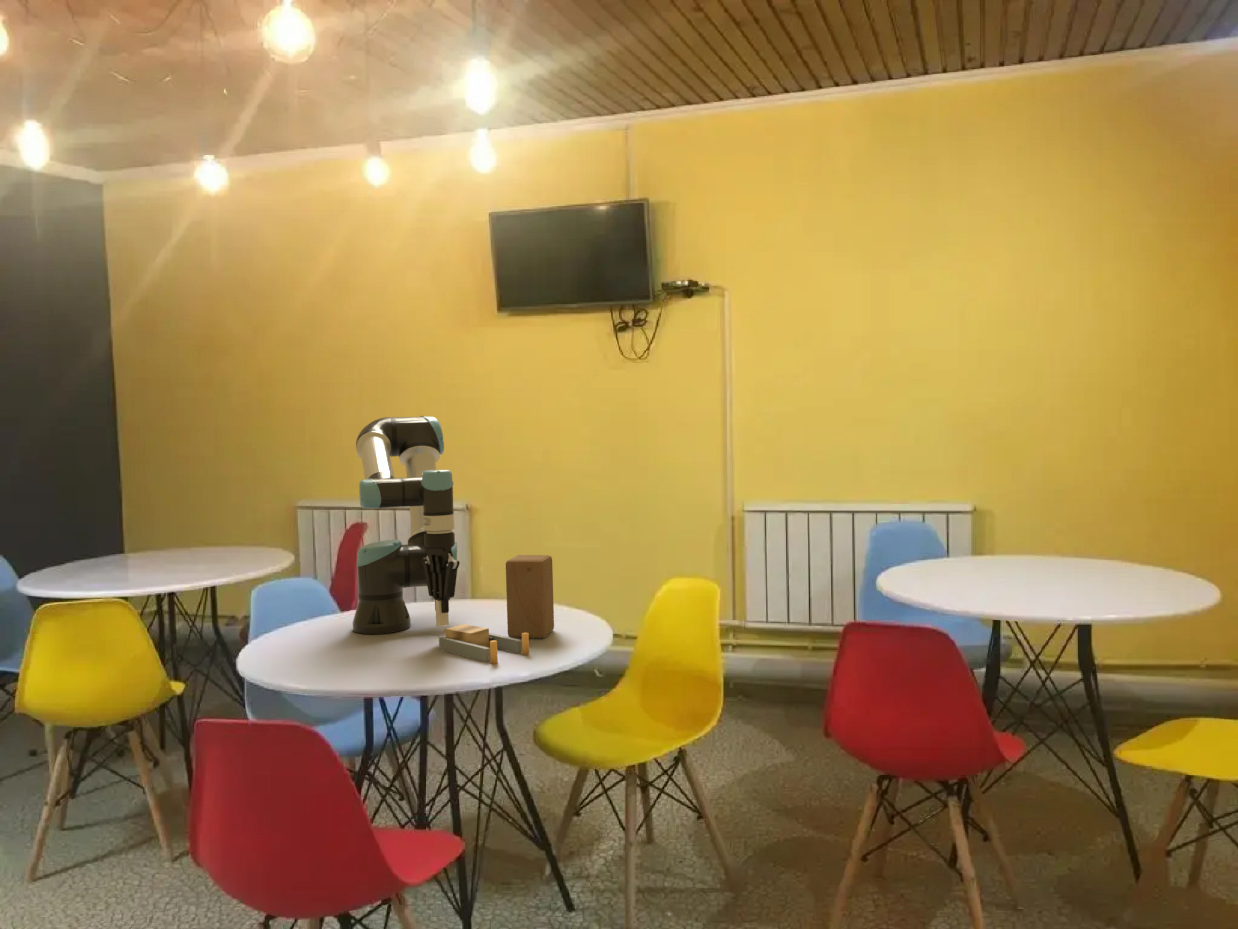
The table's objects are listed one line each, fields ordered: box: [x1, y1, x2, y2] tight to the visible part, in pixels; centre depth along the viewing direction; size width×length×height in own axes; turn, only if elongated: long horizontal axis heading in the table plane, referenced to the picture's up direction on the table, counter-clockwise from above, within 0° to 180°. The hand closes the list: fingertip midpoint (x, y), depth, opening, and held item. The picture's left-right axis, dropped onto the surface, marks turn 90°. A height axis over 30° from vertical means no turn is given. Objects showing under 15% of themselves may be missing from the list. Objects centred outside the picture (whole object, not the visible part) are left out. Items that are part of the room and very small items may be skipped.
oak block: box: [444, 623, 490, 648], centre depth 224 cm, size 9×6×5 cm, turn 52°
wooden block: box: [505, 554, 555, 640], centre depth 236 cm, size 10×10×20 cm
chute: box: [438, 632, 530, 665], centre depth 219 cm, size 21×11×5 cm, turn 47°
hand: (442, 625), depth 230 cm, fingers closed
